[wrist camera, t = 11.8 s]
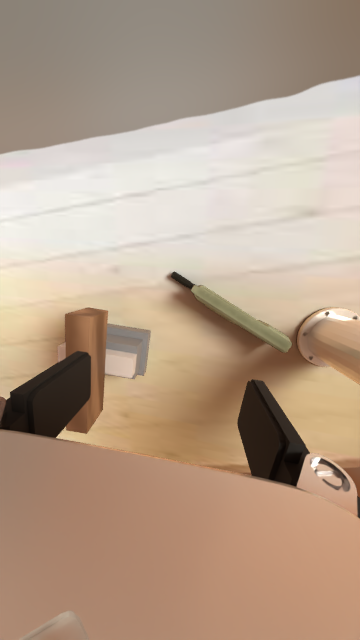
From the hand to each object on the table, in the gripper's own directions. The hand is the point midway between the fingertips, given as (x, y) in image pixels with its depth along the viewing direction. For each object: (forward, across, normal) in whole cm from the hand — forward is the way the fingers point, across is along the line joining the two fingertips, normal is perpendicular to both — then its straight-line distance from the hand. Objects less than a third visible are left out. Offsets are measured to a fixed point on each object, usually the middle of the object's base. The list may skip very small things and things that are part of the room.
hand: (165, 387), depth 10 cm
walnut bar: (+19, +15, +11) cm, 27 cm away
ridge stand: (+27, +15, +11) cm, 33 cm away
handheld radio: (+28, -8, -2) cm, 29 cm away
